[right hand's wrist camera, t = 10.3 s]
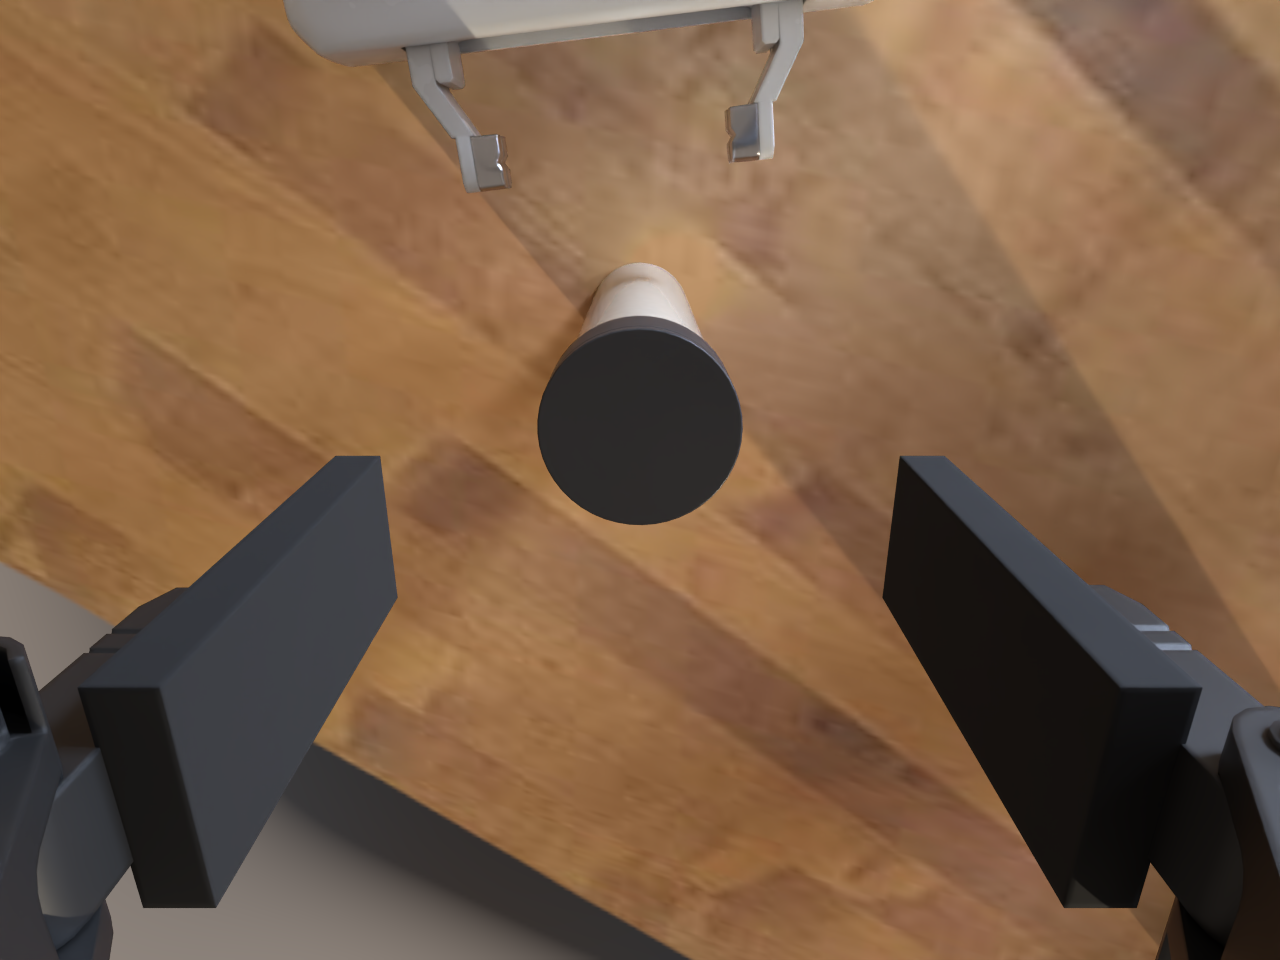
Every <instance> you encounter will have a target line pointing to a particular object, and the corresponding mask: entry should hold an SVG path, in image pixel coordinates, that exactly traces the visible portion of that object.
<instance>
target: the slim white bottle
mask: <svg viewBox="0 0 1280 960" xmlns="http://www.w3.org/2000/svg"><path fill="white" fill-rule="evenodd" d="M628 316H652V317H658V318H663V319H667V320H670V321H673V322H676V323H678V324H680V325H682V326H684V327H686V328H688V329H690V330H691V331H693V332H694V333H696V334H697V335H699V336H700V337H701V338H702V335H701V333H700V330H699V328H698V325H697V323H696V320H695V318H694V315H693V313H692V310H691V308H690V305H689V303H688V301H687V298H686V296H685V293H684V291H683V289H682V287H681V285H680V284H679V282H678V281H677V280H676V279H675V278H674V277H673V276H672V275H671V274H670V273H669V272H667V271H666V270H664V269H662V268H660V267H658V266H655V265H652V264H647V263H632V264H628V265H625V266H622V267H620V268H618V269H616V270H614V271H613V272H611V273H610V274H609V275H608V276H607V277H606V278H605V279H604V280H603V281H602V282H601V284H600V285H599V287H598V289H597V291H596V293H595V296H594V298H593V301H592V303H591V306H590V308H589V310H588V313H587V315H586V318H585V320H584V323H583V325H582V328H581V330H580V333H579V335H578V338H579V337H580V336H582V335H583V334H584V333H586V332H587V331H589V330H590V329H592V328H594V327H596V326H598V325H600V324H602V323H605V322H607V321H610V320H613V319H617V318H622V317H628ZM578 338H577V339H578ZM702 339H703V338H702Z"/></svg>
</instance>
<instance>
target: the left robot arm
mask: <svg viewBox="0 0 1280 960" xmlns="http://www.w3.org/2000/svg"><path fill="white" fill-rule="evenodd" d="M872 1H874V0H283V2H284V6H285V11H286V15H287V18H288V21H289V23H290V25H291V27H292V29H293V30H294V31H295V33H296V34H297V35H298V36H299V37H300V38H301V39H302V40H303V41H304V42H305V43H306V44H307V45H308V46H309V47H310V48H311V49H312V50H314V51H315V52H316V53H317V54H318V55H320V56H321V57H324V58H326V59H328V60H330V61H332V62H335V63H338V64H341V65H344V66H349V67H358V66H367V65H375V64H384V63H392V62H400V61H408V64H409V69H410V75H411V80H412V85H413V88H414V89H415V90H416V92H417V93H418V94H419V96H420V97H421V98H422V100H423V101H424V102H425V104H426V105H427V106H428V108H429V109H430V110H431V112H432V113H433V114H434V116H435V117H436V118H437V120H438V121H439V122H440V124H441V125H442V126H443V128H444V129H445V130H446V131H447V133H448V134H449V135H450V137H451V138H452V139H456V145H457V150H458V156H459V162H460V167H461V173H462V179H463V184H464V187H465V189H466V192H467V193H474V192H483V191H492V190H500V189H507V188H512V180H511V172H510V169H509V168H508V166H507V165H506V164H505V162H506V160H507V157H508V152H507V146H506V140H505V137H504V136H500V135H498V134H494V135H483V136H481V134H480V133H479V132H478V130H477V129H476V127H475V126H474V125H473V123H472V122H471V120H470V119H469V118H468V116H467V115H466V113H465V112H464V111H463V109H462V108H461V106H460V105H459V104H458V102H457V101H456V99H455V98H454V97H453V95H452V94H451V92H450V89H452V90H456V89H463V87H464V86H465V80H464V74H463V67H462V61H461V55H460V54H466V53H474V52H483V51H491V50H499V49H507V48H516V47H524V46H532V45H541V44H549V43H557V42H565V41H574V40H582V39H590V38H598V37H607V36H615V35H623V34H631V33H640V32H648V31H656V30H664V29H673V28H681V27H689V26H697V25H706V24H714V23H722V22H731V21H739V20H747V19H752V35H753V50H754V51H755V53H756V54H757V53H766V52H767V51H768V50H769V49H770V55H769V57H768V59H767V62H766V64H765V66H764V69H763V71H762V73H761V75H760V78H759V80H758V82H757V85H756V87H755V89H754V91H753V94H752V96H751V98H750V101H749V103H748V104H747V105H740V106H733V107H729V108H728V109H727V110H726V111H725V125H726V132H727V133H728V134H729V136H730V139H729V141H728V143H727V155H728V161H729V163H735V162H746V161H755V160H764V159H770V158H773V155H774V126H773V102H774V101H776V100H777V97H778V95H779V93H780V91H781V89H782V87H783V84H784V82H785V80H786V78H787V76H788V74H789V71H790V69H791V67H792V65H793V63H794V61H795V58H796V56H797V54H798V52H799V50H800V48H801V45H802V43H803V41H804V29H803V13H805V12H813V11H821V10H830V9H838V8H846V7H854V6H862V5H865V4H868V3H870V2H872ZM449 88H450V89H449Z"/></svg>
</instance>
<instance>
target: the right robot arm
mask: <svg viewBox="0 0 1280 960" xmlns="http://www.w3.org/2000/svg"><path fill="white" fill-rule="evenodd" d="M397 598H398V597H397V589H396V581H395V573H394V565H393V557H392V549H391V541H390V533H389V524H388V516H387V508H386V500H385V492H384V484H383V476H382V468H381V460H380V456H335V457H334V458H333V459H332V460H330V461H329V462H328V463H327V464H326V465H325V466H324V467H323V468H322V469H320V470H319V471H318V472H317V473H316V474H315V475H314V476H313V477H311V478H310V479H309V480H308V481H307V482H306V483H305V484H304V485H303V486H301V487H300V488H299V489H298V490H297V491H296V492H295V493H294V494H293V495H291V496H290V497H289V498H288V499H287V500H286V501H285V502H284V503H282V504H281V505H280V506H279V507H278V508H277V509H276V510H275V511H274V512H272V513H271V514H270V515H269V516H268V517H267V518H266V519H265V520H264V521H262V522H261V523H260V524H259V525H258V526H257V527H256V528H255V529H253V530H252V531H251V532H250V533H249V534H248V535H247V536H246V537H245V538H243V539H242V540H241V541H240V542H239V543H238V544H237V545H236V546H235V547H233V548H232V549H231V550H230V551H229V552H228V553H227V554H226V555H224V556H223V557H222V558H221V559H220V560H219V561H218V562H217V563H216V564H214V565H213V566H212V567H211V568H210V569H209V570H208V571H207V572H206V573H204V574H203V575H202V576H201V577H200V578H199V579H198V580H197V581H195V582H194V583H193V584H192V585H191V586H190V587H189V588H175V589H173V590H171V591H169V592H167V593H165V594H163V595H161V596H159V597H157V598H155V599H153V600H151V601H149V602H147V603H145V604H143V605H141V606H139V607H138V608H137V609H136V610H134V611H133V612H132V613H131V614H130V615H128V616H127V617H126V618H125V619H124V620H122V621H121V622H120V623H119V624H118V625H117V626H115V627H114V628H113V629H112V634H106V635H105V636H104V637H102V638H101V639H100V640H99V641H98V642H97V643H95V644H94V645H93V646H92V647H91V648H90V651H89V653H83V654H82V655H81V656H80V657H79V658H78V659H76V660H75V661H74V662H73V663H72V664H70V665H69V666H68V667H67V668H66V669H65V670H63V671H62V672H61V673H60V674H59V675H57V676H56V677H55V678H54V679H53V680H52V681H50V682H49V683H48V684H47V685H46V686H44V687H43V688H42V689H41V690H40V691H38V688H37V685H36V682H35V679H34V676H33V673H32V670H31V667H30V664H29V660H28V657H27V654H26V651H25V648H24V645H23V644H21V643H20V642H18V641H16V640H14V639H12V638H10V637H0V960H109V958H110V952H111V945H112V938H113V928H112V921H111V916H110V913H109V909H108V906H107V903H106V900H105V899H106V898H107V896H108V895H109V894H110V892H111V891H112V889H113V888H114V887H115V885H116V884H117V883H118V881H119V880H120V879H121V877H122V876H123V875H124V873H125V872H126V871H127V869H128V868H129V867H130V865H131V869H132V872H133V875H134V879H135V882H136V885H137V889H138V892H139V895H140V899H141V902H142V905H143V908H216V907H217V905H218V903H219V902H220V900H221V898H222V897H223V895H224V893H225V892H226V890H227V888H228V886H229V885H230V883H231V881H232V880H233V878H234V876H235V874H236V873H237V871H238V869H239V868H240V866H241V864H242V863H243V861H244V859H245V857H246V856H247V854H248V852H249V851H250V849H251V847H252V845H253V844H254V842H255V840H256V839H257V837H258V835H259V833H260V832H261V830H262V828H263V827H264V825H265V823H266V822H267V820H268V818H269V816H270V815H271V813H272V811H273V810H274V808H275V806H276V804H277V803H278V801H279V799H280V798H281V796H282V794H283V792H284V791H285V789H286V787H287V786H288V784H289V782H290V780H291V779H292V777H293V775H294V774H295V772H296V770H297V768H298V767H299V765H300V763H301V762H302V760H303V758H304V756H305V755H306V753H307V751H308V750H309V748H310V746H311V745H312V743H313V741H314V739H315V738H316V736H317V734H318V733H319V731H320V729H321V727H322V726H323V724H324V722H325V721H326V719H327V717H328V716H329V714H330V712H331V710H332V709H333V707H334V705H335V704H336V702H337V700H338V698H339V697H340V695H341V693H342V692H343V690H344V688H345V686H346V685H347V683H348V681H349V680H350V678H351V676H352V674H353V673H354V671H355V669H356V668H357V666H358V664H359V663H360V661H361V659H362V657H363V656H364V654H365V652H366V651H367V649H368V647H369V645H370V644H371V642H372V640H373V639H374V637H375V635H376V633H377V632H378V630H379V628H380V627H381V625H382V623H383V621H384V620H385V618H386V616H387V615H388V613H389V611H390V610H391V608H392V606H393V604H394V603H395V601H396V599H397ZM882 598H883V599H884V601H885V603H886V604H887V606H888V608H889V610H890V611H891V613H892V615H893V616H894V618H895V620H896V621H897V623H898V625H899V627H900V628H901V630H902V632H903V633H904V635H905V637H906V639H907V640H908V642H909V644H910V645H911V647H912V649H913V651H914V652H915V654H916V656H917V657H918V659H919V661H920V663H921V664H922V666H923V668H924V669H925V671H926V673H927V674H928V676H929V678H930V680H931V681H932V683H933V685H934V686H935V688H936V690H937V692H938V693H939V695H940V697H941V698H942V700H943V702H944V704H945V705H946V707H947V709H948V710H949V712H950V714H951V716H952V717H953V719H954V721H955V722H956V724H957V726H958V727H959V729H960V731H961V733H962V734H963V736H964V738H965V739H966V741H967V743H968V745H969V746H970V748H971V750H972V751H973V753H974V755H975V757H976V758H977V760H978V762H979V763H980V765H981V767H982V768H983V770H984V772H985V774H986V775H987V777H988V779H989V780H990V782H991V784H992V786H993V787H994V789H995V791H996V792H997V794H998V796H999V798H1000V799H1001V801H1002V803H1003V804H1004V806H1005V808H1006V810H1007V811H1008V813H1009V815H1010V816H1011V818H1012V820H1013V821H1014V823H1015V825H1016V827H1017V828H1018V830H1019V832H1020V833H1021V835H1022V837H1023V839H1024V840H1025V842H1026V844H1027V845H1028V847H1029V849H1030V851H1031V852H1032V854H1033V856H1034V857H1035V859H1036V861H1037V863H1038V864H1039V866H1040V868H1041V869H1042V871H1043V873H1044V874H1045V876H1046V878H1047V880H1048V881H1049V883H1050V885H1051V886H1052V888H1053V890H1054V892H1055V893H1056V895H1057V897H1058V898H1059V900H1060V902H1061V904H1062V905H1063V907H1064V908H1137V905H1138V902H1139V899H1140V895H1141V892H1142V889H1143V885H1144V882H1145V879H1146V875H1147V872H1148V869H1149V865H1150V862H1151V864H1152V865H1153V866H1154V868H1155V869H1156V870H1157V872H1158V873H1159V874H1160V876H1161V877H1162V878H1163V880H1164V881H1165V882H1166V884H1167V885H1168V886H1169V888H1170V889H1171V890H1172V892H1173V893H1174V894H1175V896H1176V897H1175V900H1174V903H1173V906H1172V909H1171V913H1170V916H1169V919H1168V922H1167V925H1166V928H1165V931H1164V934H1163V937H1162V941H1161V944H1160V947H1159V950H1158V953H1157V956H1156V959H1155V960H1280V707H1274V706H1263V705H1262V704H1261V703H1259V702H1258V701H1257V700H1256V699H1255V698H1254V697H1252V696H1251V695H1250V694H1249V693H1248V692H1246V691H1245V690H1244V689H1243V688H1242V687H1240V686H1239V685H1238V684H1237V683H1236V682H1234V681H1233V680H1232V679H1231V678H1230V677H1228V676H1227V675H1226V674H1225V673H1224V672H1223V671H1221V670H1220V669H1219V668H1218V667H1217V666H1215V665H1214V664H1213V663H1212V662H1211V661H1209V660H1208V659H1207V658H1206V657H1205V656H1203V655H1202V654H1201V653H1200V652H1199V651H1197V650H1192V649H1191V645H1190V644H1189V643H1188V642H1187V641H1186V640H1184V639H1183V638H1182V637H1181V636H1180V635H1178V634H1177V633H1176V632H1175V631H1169V626H1168V625H1166V624H1165V623H1164V622H1163V621H1162V620H1161V619H1159V618H1158V617H1157V616H1156V615H1155V614H1153V613H1152V612H1151V611H1150V610H1149V609H1147V608H1146V607H1145V606H1144V605H1143V604H1141V603H1139V602H1137V601H1135V600H1133V599H1131V598H1129V597H1127V596H1125V595H1123V594H1121V593H1119V592H1117V591H1115V590H1113V589H1111V588H1109V587H1107V586H1105V585H1088V584H1087V583H1086V582H1085V581H1083V580H1082V579H1081V578H1080V577H1079V576H1078V575H1077V574H1076V573H1074V572H1073V571H1072V570H1071V569H1070V568H1069V567H1068V566H1067V565H1066V564H1064V563H1063V562H1062V561H1061V560H1060V559H1059V558H1058V557H1057V556H1056V555H1054V554H1053V553H1052V552H1051V551H1050V550H1049V549H1048V548H1047V547H1045V546H1044V545H1043V544H1042V543H1041V542H1040V541H1039V540H1038V539H1037V538H1035V537H1034V536H1033V535H1032V534H1031V533H1030V532H1029V531H1028V530H1027V529H1025V528H1024V527H1023V526H1022V525H1021V524H1020V523H1019V522H1018V521H1016V520H1015V519H1014V518H1013V517H1012V516H1011V515H1010V514H1009V513H1008V512H1006V511H1005V510H1004V509H1003V508H1002V507H1001V506H1000V505H999V504H998V503H996V502H995V501H994V500H993V499H992V498H991V497H990V496H989V495H987V494H986V493H985V492H984V491H983V490H982V489H981V488H980V487H979V486H977V485H976V484H975V483H974V482H973V481H972V480H971V479H970V478H969V477H967V476H966V475H965V474H964V473H963V472H962V471H961V470H960V469H958V468H957V467H956V466H955V465H954V464H953V463H952V462H951V461H950V460H948V459H947V458H946V457H945V456H900V460H899V468H898V476H897V484H896V492H895V500H894V508H893V516H892V524H891V533H890V541H889V549H888V557H887V565H886V573H885V581H884V589H883V597H882Z"/></svg>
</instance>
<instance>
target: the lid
mask: <svg viewBox="0 0 1280 960" xmlns="http://www.w3.org/2000/svg"><path fill="white" fill-rule="evenodd" d="M742 430H743V426H742V413H741V408H740V403H739V400H738V397H737V393H736V391H735V388H734V386H733V384H732V382H731V380H730V378H729V375H728V373H727V371H726V369H725V367H724V365H723V363H722V361H721V360H720V358H719V357H718V355H717V354H716V352H715V351H714V350H713V349H712V348H711V347H710V346H709V344H708V343H707V342H706V341H704V340H703V339H702V338H701V337H700V336H699V335H697V334H696V333H694V332H693V331H691V330H690V329H688V328H686V327H684V326H682V325H680V324H678V323H676V322H673V321H670V320H667V319H663V318H658V317H652V316H628V317H622V318H617V319H613V320H610V321H607V322H605V323H602V324H600V325H598V326H596V327H594V328H592V329H590V330H589V331H587V332H586V333H584V334H583V335H582V336H580V337H579V338H578V339H577V340H576V341H575V342H574V343H572V344H571V345H570V346H569V348H568V349H567V350H566V351H565V353H564V354H563V355H562V357H561V358H560V360H559V361H558V363H557V365H556V367H555V369H554V371H553V373H552V375H551V377H550V380H549V382H548V384H547V386H546V389H545V391H544V393H543V396H542V400H541V403H540V407H539V413H538V440H539V447H540V450H541V454H542V457H543V460H544V462H545V465H546V467H547V469H548V471H549V473H550V474H551V476H552V478H553V479H554V481H555V482H556V484H557V485H558V486H559V487H560V489H561V490H562V491H563V492H564V493H565V494H566V495H567V496H568V497H569V498H570V499H571V500H572V501H574V502H575V503H576V504H578V505H579V506H580V507H582V508H583V509H585V510H587V511H588V512H590V513H592V514H594V515H596V516H599V517H601V518H603V519H606V520H610V521H613V522H617V523H623V524H629V525H648V524H657V523H662V522H667V521H670V520H673V519H676V518H679V517H681V516H684V515H686V514H688V513H690V512H692V511H693V510H695V509H697V508H698V507H700V506H701V505H703V504H704V503H705V502H706V501H707V500H709V499H710V498H711V497H712V496H713V495H714V494H715V493H716V492H717V491H718V490H719V489H720V488H721V486H722V485H723V483H724V482H725V481H726V479H727V478H728V476H729V474H730V473H731V471H732V469H733V467H734V465H735V462H736V460H737V457H738V454H739V450H740V446H741V441H742Z"/></svg>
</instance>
